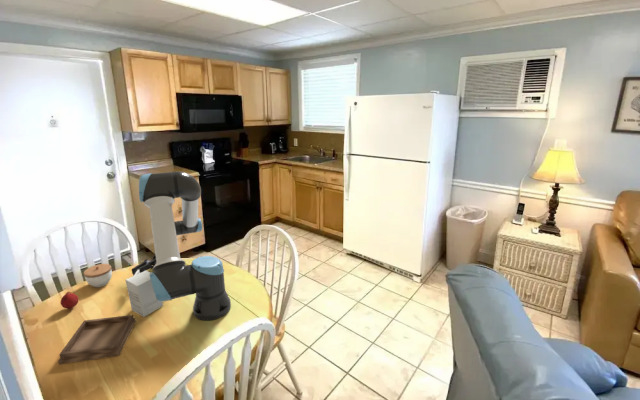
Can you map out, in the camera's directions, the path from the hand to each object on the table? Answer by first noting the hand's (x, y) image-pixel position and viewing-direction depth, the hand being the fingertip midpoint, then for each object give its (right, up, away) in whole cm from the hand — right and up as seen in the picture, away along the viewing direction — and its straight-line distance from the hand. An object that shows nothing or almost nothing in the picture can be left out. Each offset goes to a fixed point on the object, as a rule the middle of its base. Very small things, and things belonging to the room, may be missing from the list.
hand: (151, 278), depth 138 cm
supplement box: (+2, -11, -6) cm, 13 cm away
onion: (-30, -11, -7) cm, 32 cm away
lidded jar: (-30, -5, +10) cm, 32 cm away
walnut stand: (-5, -17, -24) cm, 30 cm away
